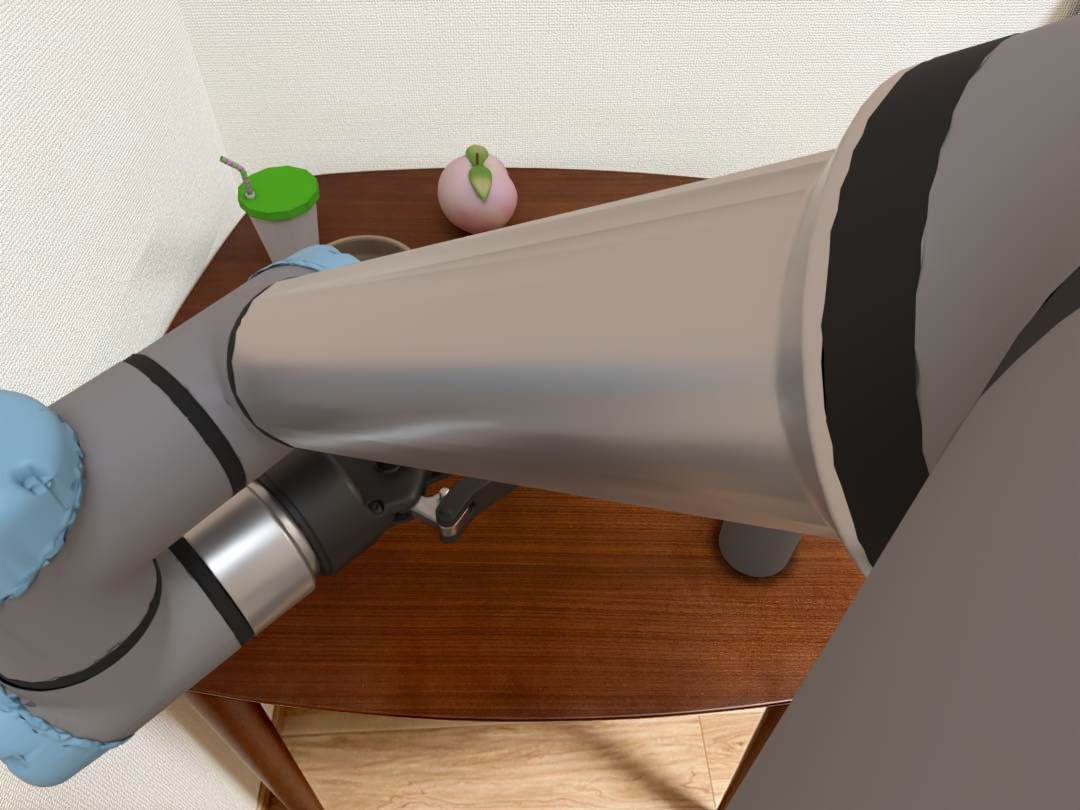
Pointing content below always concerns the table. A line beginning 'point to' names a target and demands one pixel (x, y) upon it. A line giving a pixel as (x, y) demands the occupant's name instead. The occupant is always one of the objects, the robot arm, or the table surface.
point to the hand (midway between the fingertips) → (570, 319)
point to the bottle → (756, 548)
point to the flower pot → (368, 246)
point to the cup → (280, 207)
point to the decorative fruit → (477, 192)
